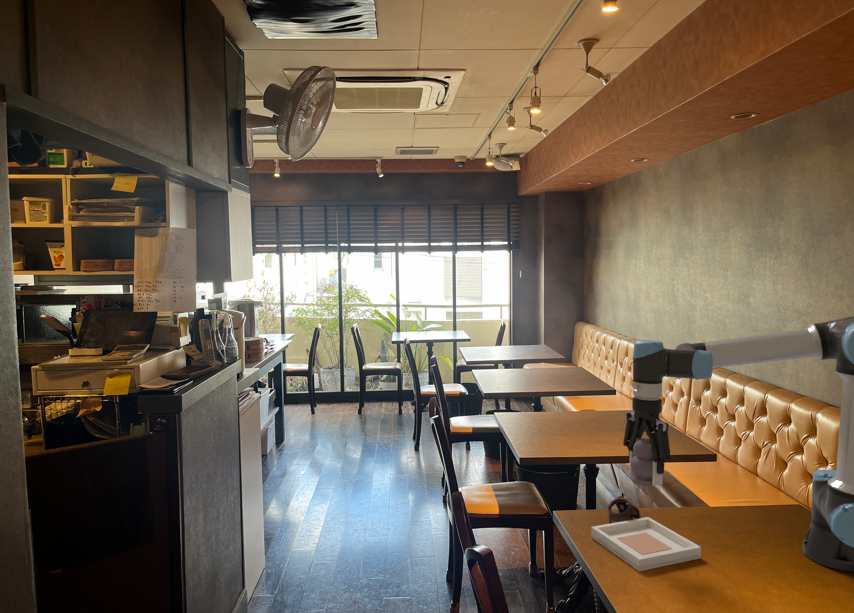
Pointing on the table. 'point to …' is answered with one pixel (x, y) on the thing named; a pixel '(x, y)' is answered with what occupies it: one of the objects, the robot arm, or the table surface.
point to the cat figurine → (642, 462)
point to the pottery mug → (623, 510)
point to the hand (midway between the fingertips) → (645, 478)
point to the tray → (645, 543)
